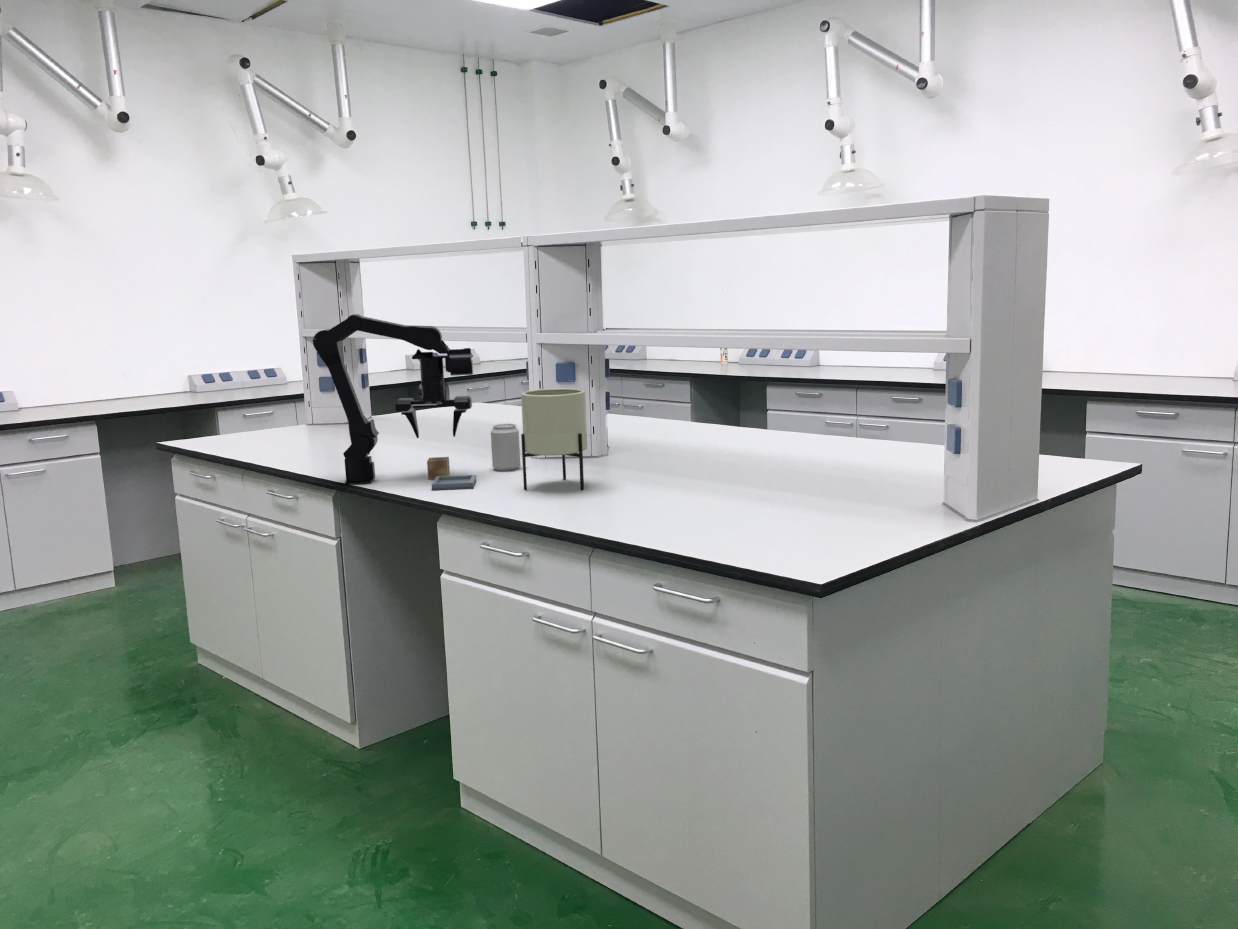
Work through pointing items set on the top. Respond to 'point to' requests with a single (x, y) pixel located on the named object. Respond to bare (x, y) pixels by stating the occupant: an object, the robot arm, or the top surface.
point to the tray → (454, 482)
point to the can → (505, 447)
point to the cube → (438, 467)
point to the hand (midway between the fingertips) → (436, 437)
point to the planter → (554, 425)
